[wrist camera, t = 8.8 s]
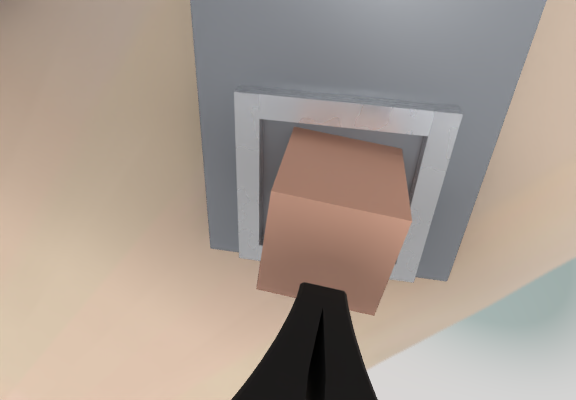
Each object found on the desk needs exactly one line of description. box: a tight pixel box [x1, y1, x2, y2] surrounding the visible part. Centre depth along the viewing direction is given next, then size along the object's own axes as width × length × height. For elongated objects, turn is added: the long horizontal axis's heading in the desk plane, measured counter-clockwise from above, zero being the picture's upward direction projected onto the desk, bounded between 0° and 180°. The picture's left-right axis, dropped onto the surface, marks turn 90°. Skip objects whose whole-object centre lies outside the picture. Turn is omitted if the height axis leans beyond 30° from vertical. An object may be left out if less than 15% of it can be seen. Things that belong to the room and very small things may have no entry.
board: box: [190, 0, 547, 281], centre depth 16 cm, size 20×12×1 cm, turn 178°
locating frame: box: [234, 85, 463, 283], centre depth 18 cm, size 8×8×1 cm
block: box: [256, 127, 412, 316], centre depth 17 cm, size 4×4×5 cm
